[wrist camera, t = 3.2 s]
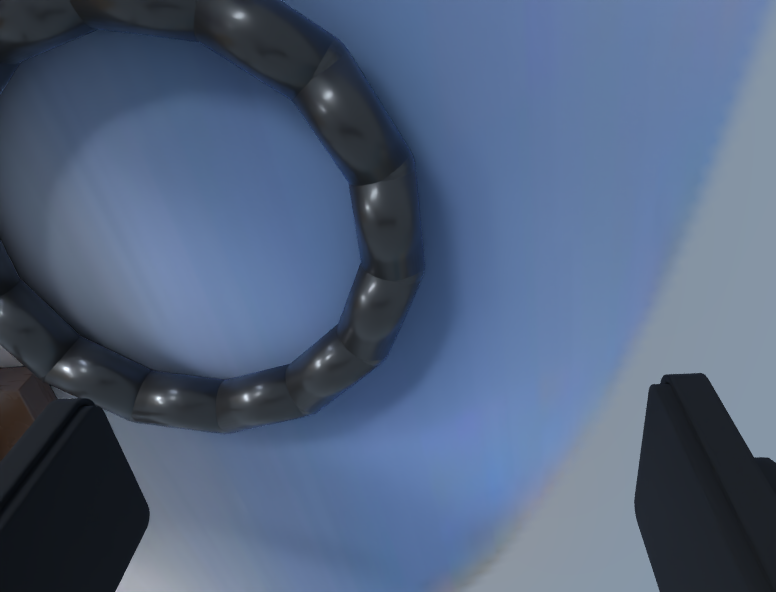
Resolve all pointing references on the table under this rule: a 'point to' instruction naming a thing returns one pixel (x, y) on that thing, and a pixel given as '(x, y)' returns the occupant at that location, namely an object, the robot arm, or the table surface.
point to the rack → (20, 404)
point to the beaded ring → (340, 139)
